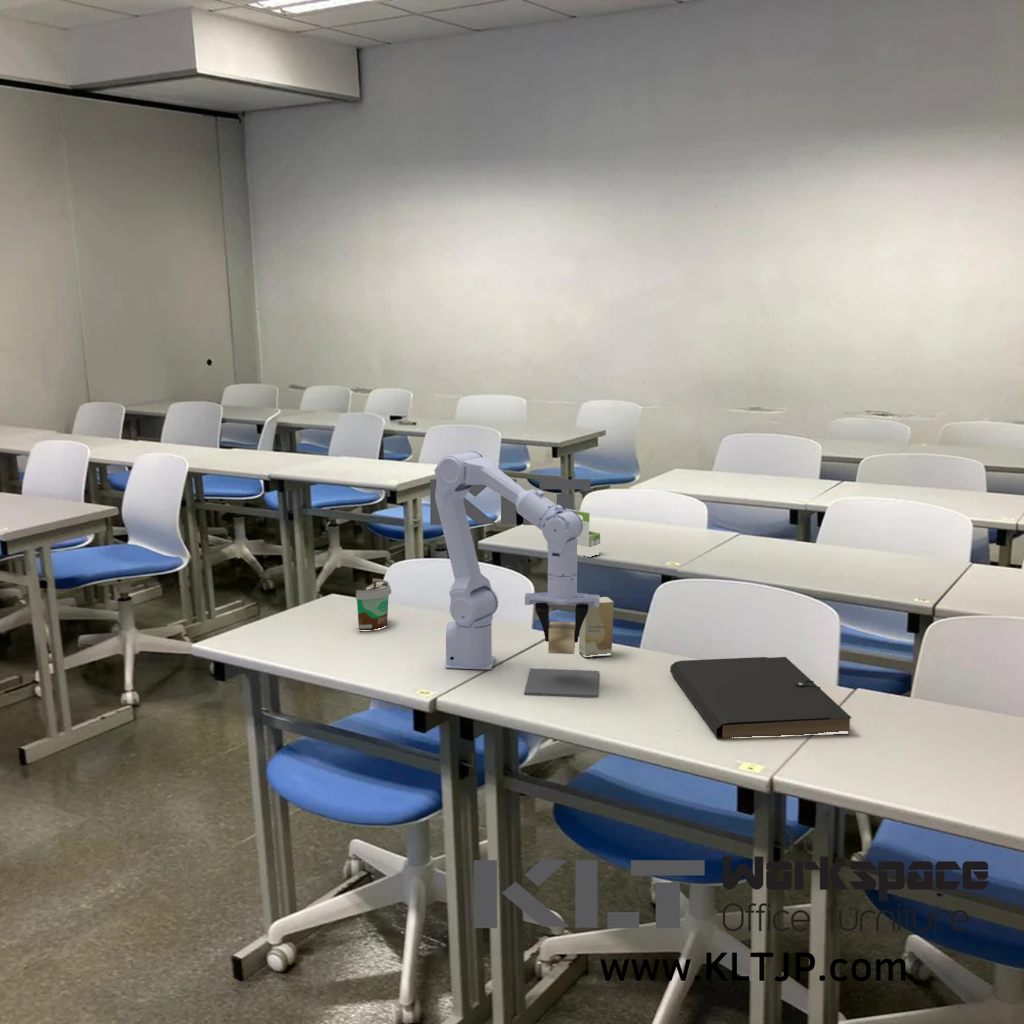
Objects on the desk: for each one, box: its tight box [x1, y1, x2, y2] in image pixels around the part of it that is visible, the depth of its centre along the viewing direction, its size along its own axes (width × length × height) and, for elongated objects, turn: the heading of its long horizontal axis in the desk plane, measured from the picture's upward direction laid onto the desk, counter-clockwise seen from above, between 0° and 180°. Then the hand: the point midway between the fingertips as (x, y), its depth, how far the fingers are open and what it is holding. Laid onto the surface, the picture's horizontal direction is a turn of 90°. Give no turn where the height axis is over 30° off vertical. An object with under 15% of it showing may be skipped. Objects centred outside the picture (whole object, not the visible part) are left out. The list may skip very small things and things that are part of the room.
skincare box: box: [578, 596, 615, 656], centre depth 222 cm, size 6×4×12 cm
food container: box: [355, 578, 392, 631], centre depth 242 cm, size 12×6×10 cm, turn 168°
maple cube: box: [547, 621, 576, 655], centre depth 206 cm, size 5×5×5 cm
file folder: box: [669, 656, 852, 740], centre depth 196 cm, size 33×4×24 cm
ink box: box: [565, 508, 601, 547], centre depth 318 cm, size 10×5×14 cm, turn 43°
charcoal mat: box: [523, 667, 600, 698], centre depth 205 cm, size 14×14×1 cm
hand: (561, 640), depth 205 cm, fingers closed on maple cube, 5 cm apart
